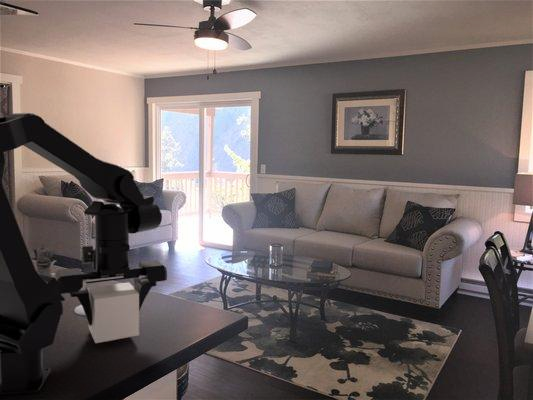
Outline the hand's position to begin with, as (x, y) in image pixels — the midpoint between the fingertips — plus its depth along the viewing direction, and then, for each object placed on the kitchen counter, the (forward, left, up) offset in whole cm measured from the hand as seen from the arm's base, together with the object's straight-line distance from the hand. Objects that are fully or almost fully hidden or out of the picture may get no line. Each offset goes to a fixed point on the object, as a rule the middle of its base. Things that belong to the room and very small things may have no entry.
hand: (113, 320), depth 80 cm
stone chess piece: (+30, +20, -4) cm, 36 cm away
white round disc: (+17, +6, -4) cm, 18 cm away
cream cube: (0, 0, -2) cm, 2 cm away
